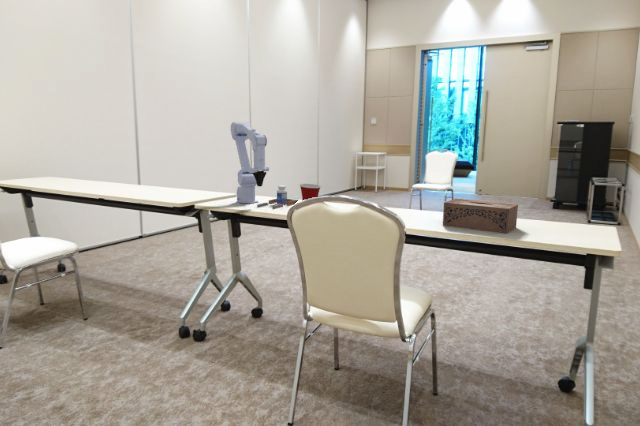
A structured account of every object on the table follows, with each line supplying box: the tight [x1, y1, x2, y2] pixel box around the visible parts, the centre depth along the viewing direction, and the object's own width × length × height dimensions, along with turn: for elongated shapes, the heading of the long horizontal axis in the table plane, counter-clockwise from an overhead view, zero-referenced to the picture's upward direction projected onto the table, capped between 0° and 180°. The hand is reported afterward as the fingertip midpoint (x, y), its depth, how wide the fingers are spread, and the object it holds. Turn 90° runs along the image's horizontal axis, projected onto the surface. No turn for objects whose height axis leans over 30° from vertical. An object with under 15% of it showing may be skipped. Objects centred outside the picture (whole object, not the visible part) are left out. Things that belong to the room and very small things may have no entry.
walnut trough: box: [268, 198, 299, 206], centre depth 246 cm, size 12×10×2 cm
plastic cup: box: [299, 183, 322, 201], centre depth 230 cm, size 11×11×12 cm
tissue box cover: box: [442, 198, 519, 235], centre depth 190 cm, size 26×14×10 cm, turn 55°
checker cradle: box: [256, 202, 284, 210], centre depth 235 cm, size 10×8×1 cm
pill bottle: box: [276, 185, 288, 206], centre depth 244 cm, size 6×5×10 cm
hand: (259, 186), depth 234 cm, fingers closed
